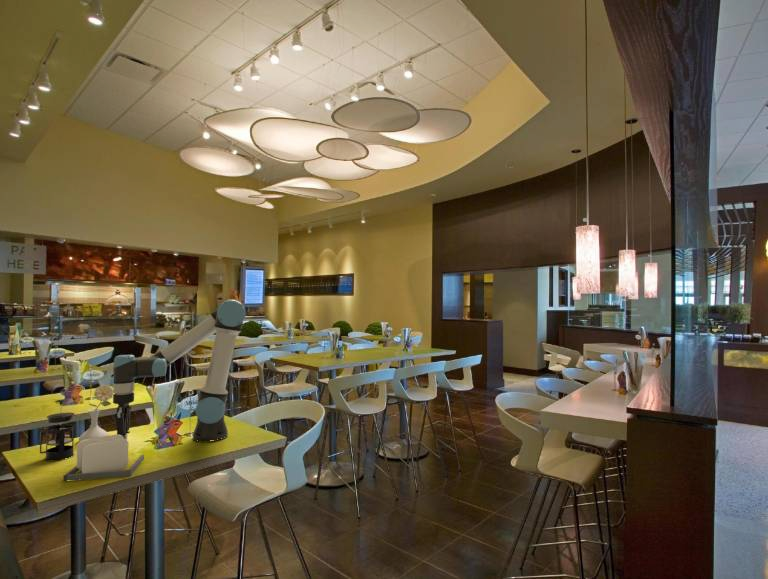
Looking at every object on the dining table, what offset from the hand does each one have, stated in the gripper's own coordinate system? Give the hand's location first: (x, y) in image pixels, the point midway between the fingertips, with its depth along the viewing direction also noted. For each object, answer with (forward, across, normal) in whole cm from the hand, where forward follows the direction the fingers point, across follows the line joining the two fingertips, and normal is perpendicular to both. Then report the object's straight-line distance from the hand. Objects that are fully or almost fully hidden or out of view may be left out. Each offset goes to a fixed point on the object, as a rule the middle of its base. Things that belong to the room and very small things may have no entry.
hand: (122, 450), depth 180 cm
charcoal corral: (+2, +17, -1) cm, 17 cm away
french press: (+2, -4, -24) cm, 25 cm away
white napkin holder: (+2, +18, -2) cm, 18 cm away
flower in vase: (+2, -25, -18) cm, 31 cm away
